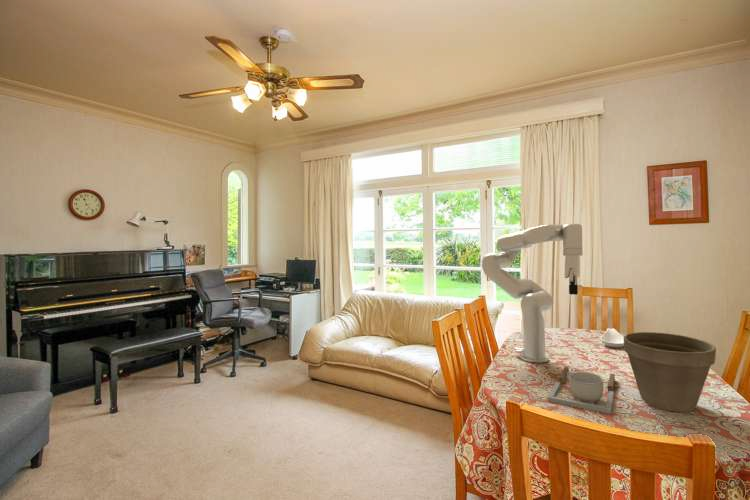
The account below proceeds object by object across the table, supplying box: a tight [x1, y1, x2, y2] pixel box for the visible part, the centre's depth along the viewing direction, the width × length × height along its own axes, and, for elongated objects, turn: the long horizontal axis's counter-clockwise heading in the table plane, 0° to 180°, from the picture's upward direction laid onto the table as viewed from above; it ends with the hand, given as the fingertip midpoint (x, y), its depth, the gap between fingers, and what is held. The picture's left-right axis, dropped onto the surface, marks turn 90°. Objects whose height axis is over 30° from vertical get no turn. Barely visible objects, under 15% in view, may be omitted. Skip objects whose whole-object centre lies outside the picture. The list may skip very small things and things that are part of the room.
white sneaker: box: [600, 328, 624, 349], centre depth 201 cm, size 24×12×7 cm, turn 154°
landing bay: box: [547, 381, 615, 415], centre depth 133 cm, size 19×17×2 cm
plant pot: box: [623, 331, 717, 413], centre depth 127 cm, size 25×25×22 cm
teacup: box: [566, 370, 604, 403], centre depth 134 cm, size 14×11×8 cm
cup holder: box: [558, 366, 616, 393], centre depth 148 cm, size 18×15×2 cm
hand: (573, 294), depth 162 cm, fingers closed
